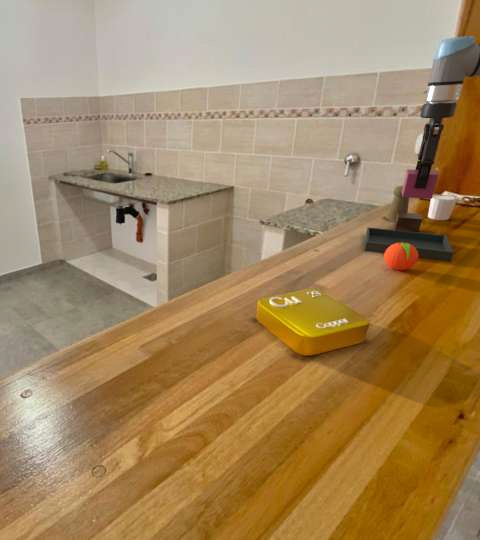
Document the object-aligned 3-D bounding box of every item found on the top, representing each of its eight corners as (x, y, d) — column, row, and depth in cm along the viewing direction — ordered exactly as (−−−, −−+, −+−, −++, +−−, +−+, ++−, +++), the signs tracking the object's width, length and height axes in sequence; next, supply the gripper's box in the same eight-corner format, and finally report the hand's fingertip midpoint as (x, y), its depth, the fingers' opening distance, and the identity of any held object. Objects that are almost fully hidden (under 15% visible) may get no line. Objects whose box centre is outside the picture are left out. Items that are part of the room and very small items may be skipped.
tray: (443, 243, 110) (446, 235, 109) (450, 261, 99) (453, 252, 98) (365, 235, 119) (367, 227, 118) (364, 250, 108) (366, 242, 107)
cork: (385, 214, 136) (393, 184, 132) (406, 216, 133) (414, 185, 129) (386, 219, 132) (393, 187, 127) (407, 221, 129) (416, 188, 124)
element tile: (302, 359, 67) (306, 336, 65) (251, 317, 80) (253, 297, 78) (370, 341, 70) (376, 319, 68) (311, 303, 83) (315, 284, 81)
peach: (420, 277, 92) (428, 250, 89) (386, 275, 94) (393, 248, 91) (409, 264, 98) (416, 238, 96) (378, 262, 101) (384, 237, 98)
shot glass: (431, 220, 128) (437, 200, 125) (421, 214, 134) (427, 195, 131) (455, 220, 126) (462, 200, 124) (444, 214, 132) (450, 195, 130)
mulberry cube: (429, 193, 117) (435, 170, 114) (431, 198, 111) (438, 174, 109) (401, 191, 120) (407, 169, 117) (402, 197, 115) (408, 173, 112)
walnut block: (416, 229, 121) (420, 213, 119) (417, 234, 117) (422, 219, 115) (393, 226, 124) (397, 212, 122) (394, 232, 120) (398, 217, 118)
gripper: (420, 101, 115) (402, 178, 124) (426, 104, 99) (405, 191, 109) (452, 100, 111) (430, 179, 120) (463, 103, 96) (438, 193, 105)
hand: (418, 185), depth 115 cm, fingers closed on mulberry cube, 7 cm apart
